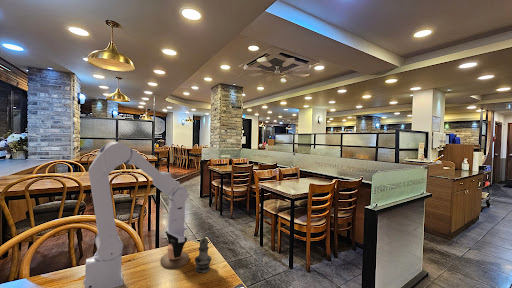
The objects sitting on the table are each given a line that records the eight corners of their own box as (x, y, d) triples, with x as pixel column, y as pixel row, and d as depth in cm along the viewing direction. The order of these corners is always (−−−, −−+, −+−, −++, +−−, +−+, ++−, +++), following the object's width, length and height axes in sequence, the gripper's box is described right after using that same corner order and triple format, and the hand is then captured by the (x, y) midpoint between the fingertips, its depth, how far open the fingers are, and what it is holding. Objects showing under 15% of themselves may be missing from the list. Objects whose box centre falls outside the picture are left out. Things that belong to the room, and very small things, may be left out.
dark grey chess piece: (213, 265, 81) (214, 233, 80) (208, 274, 75) (209, 240, 75) (197, 263, 81) (199, 231, 81) (191, 272, 76) (193, 238, 75)
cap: (169, 260, 79) (170, 250, 79) (166, 253, 83) (166, 244, 83) (184, 256, 82) (184, 246, 82) (180, 250, 86) (180, 240, 86)
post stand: (163, 271, 75) (164, 257, 75) (157, 257, 84) (158, 244, 83) (192, 263, 81) (193, 250, 81) (184, 251, 89) (184, 239, 89)
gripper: (193, 222, 78) (192, 259, 79) (181, 210, 90) (180, 242, 90) (173, 226, 74) (171, 265, 75) (163, 212, 86) (162, 246, 86)
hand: (175, 253), depth 82 cm, fingers closed on cap, 5 cm apart
